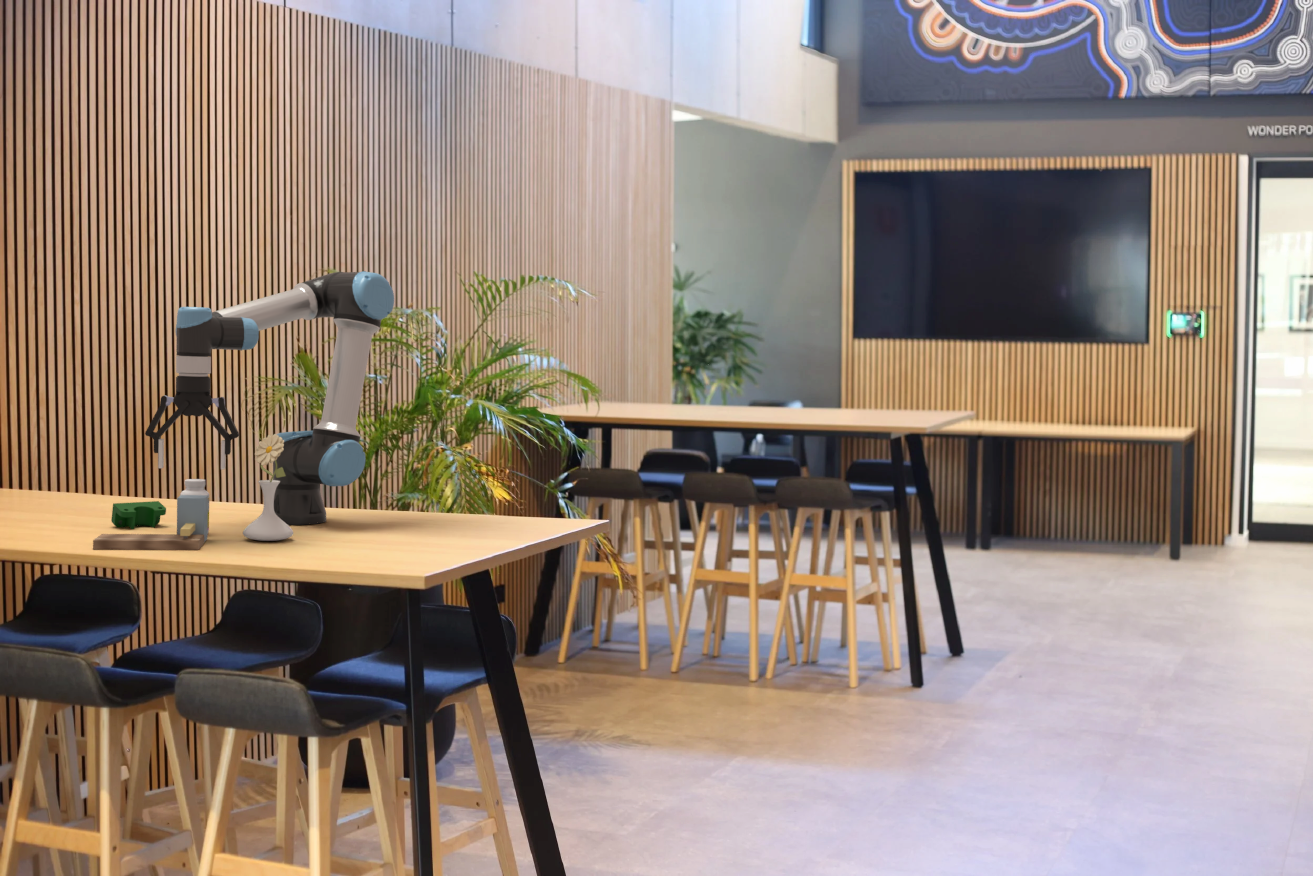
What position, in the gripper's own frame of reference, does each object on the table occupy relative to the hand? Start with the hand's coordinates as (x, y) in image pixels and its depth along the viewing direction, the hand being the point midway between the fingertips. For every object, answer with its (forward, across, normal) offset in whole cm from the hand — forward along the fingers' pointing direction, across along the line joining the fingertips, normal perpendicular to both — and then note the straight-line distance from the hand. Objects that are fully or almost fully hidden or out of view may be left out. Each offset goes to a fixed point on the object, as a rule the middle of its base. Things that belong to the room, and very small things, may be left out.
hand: (192, 468), depth 329 cm
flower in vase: (+17, -17, -2) cm, 24 cm away
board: (+17, +8, +8) cm, 20 cm away
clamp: (+17, +15, -23) cm, 32 cm away
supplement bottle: (+17, +1, -12) cm, 21 cm away
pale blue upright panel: (+17, 0, +5) cm, 17 cm away
